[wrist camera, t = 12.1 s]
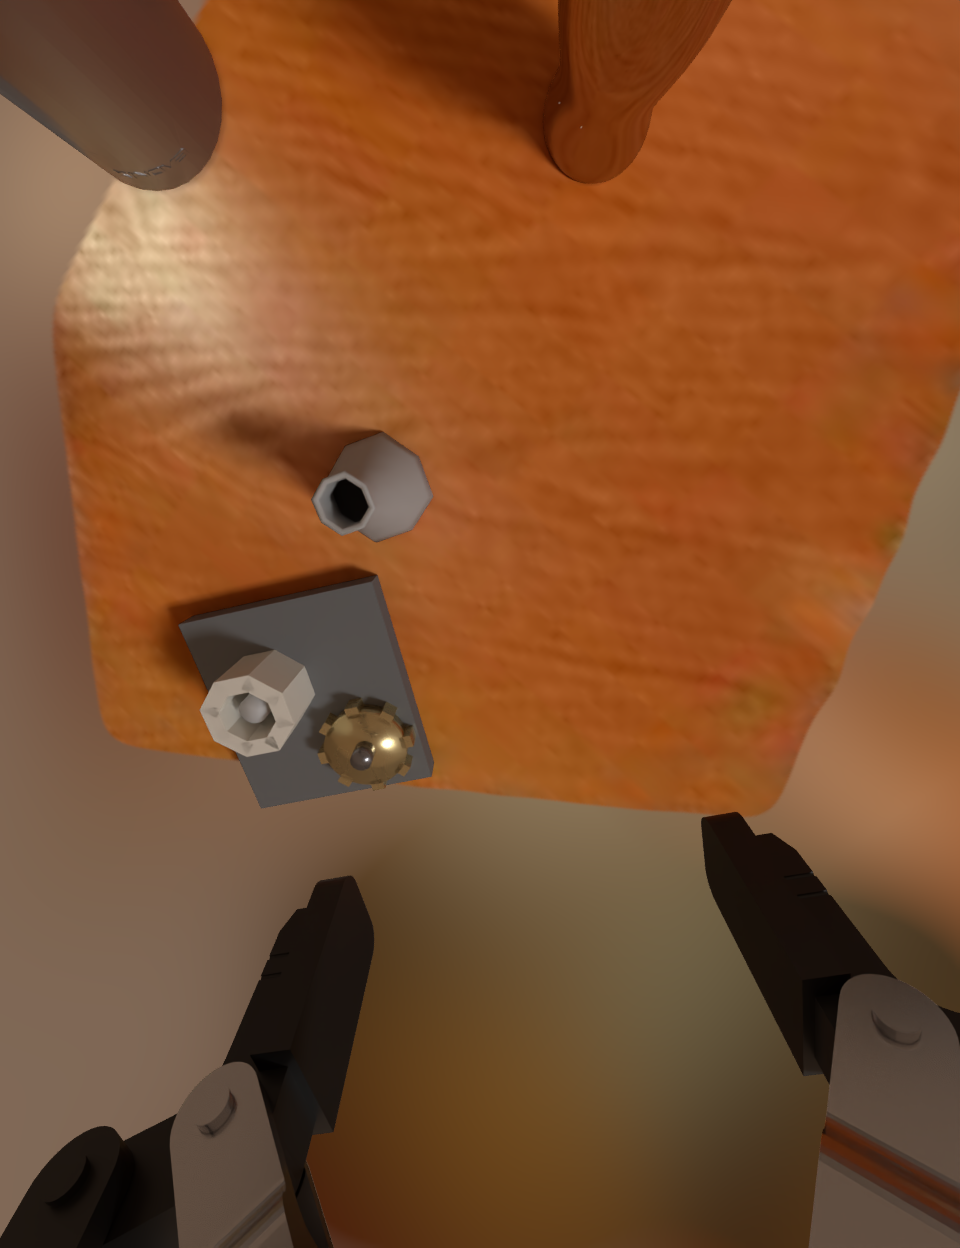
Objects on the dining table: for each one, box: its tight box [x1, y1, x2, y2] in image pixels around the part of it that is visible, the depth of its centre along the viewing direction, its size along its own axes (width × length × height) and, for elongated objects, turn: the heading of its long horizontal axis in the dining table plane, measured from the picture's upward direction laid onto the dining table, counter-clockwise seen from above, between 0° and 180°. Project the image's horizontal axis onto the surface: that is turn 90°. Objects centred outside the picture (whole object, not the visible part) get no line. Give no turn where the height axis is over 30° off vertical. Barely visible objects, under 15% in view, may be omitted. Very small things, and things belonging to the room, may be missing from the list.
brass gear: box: [317, 698, 416, 790], centre depth 39 cm, size 8×8×3 cm
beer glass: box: [543, 0, 732, 184], centre depth 22 cm, size 7×7×15 cm
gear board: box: [179, 575, 434, 808], centre depth 39 cm, size 17×15×6 cm
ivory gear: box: [200, 650, 315, 757], centre depth 37 cm, size 6×6×4 cm
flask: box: [311, 432, 433, 542], centre depth 31 cm, size 7×7×10 cm
